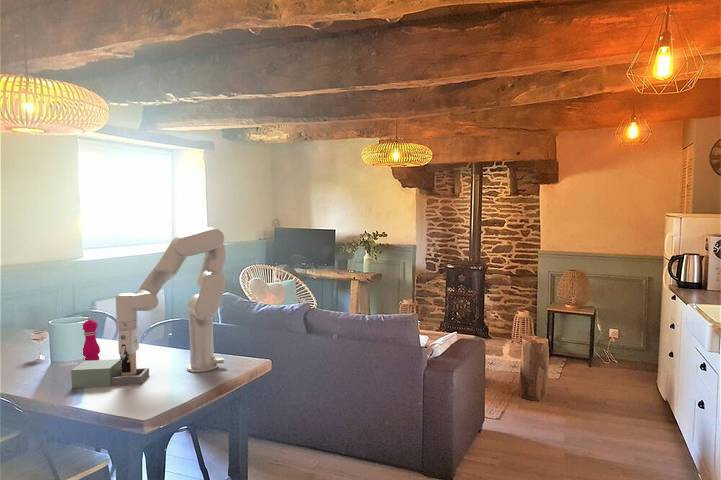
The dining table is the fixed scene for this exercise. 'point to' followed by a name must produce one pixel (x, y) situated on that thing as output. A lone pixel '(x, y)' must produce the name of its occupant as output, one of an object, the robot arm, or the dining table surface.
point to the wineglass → (39, 340)
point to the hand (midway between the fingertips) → (129, 369)
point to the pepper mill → (90, 340)
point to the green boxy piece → (104, 374)
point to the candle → (133, 366)
